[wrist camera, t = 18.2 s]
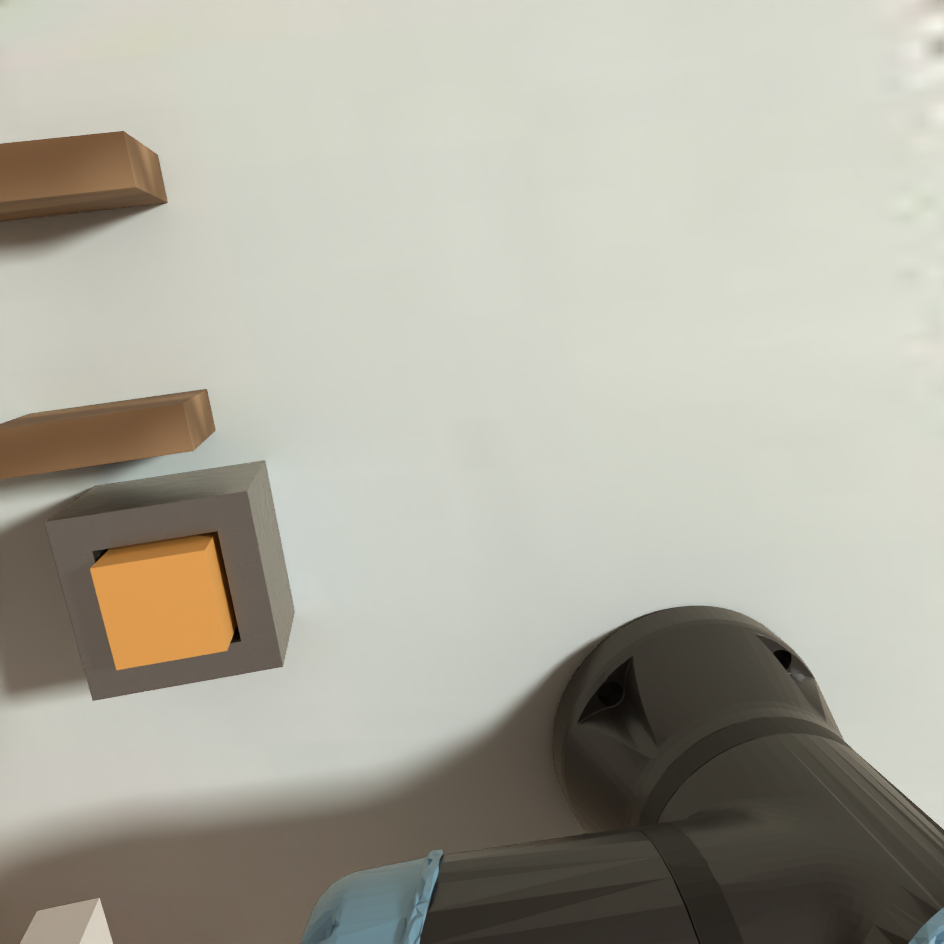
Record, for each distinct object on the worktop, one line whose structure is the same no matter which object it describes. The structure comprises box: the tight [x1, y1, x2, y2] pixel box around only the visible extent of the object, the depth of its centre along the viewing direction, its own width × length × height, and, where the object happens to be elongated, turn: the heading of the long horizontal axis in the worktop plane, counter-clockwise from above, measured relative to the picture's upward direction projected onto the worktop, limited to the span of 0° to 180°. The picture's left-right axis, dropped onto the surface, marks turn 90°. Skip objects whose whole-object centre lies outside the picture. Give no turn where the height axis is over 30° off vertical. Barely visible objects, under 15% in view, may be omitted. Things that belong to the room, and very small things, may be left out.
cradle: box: [0, 131, 215, 479], centre depth 32 cm, size 12×8×5 cm, turn 7°
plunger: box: [90, 531, 237, 670], centre depth 34 cm, size 4×4×6 cm
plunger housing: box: [44, 461, 295, 701], centre depth 35 cm, size 8×8×6 cm
